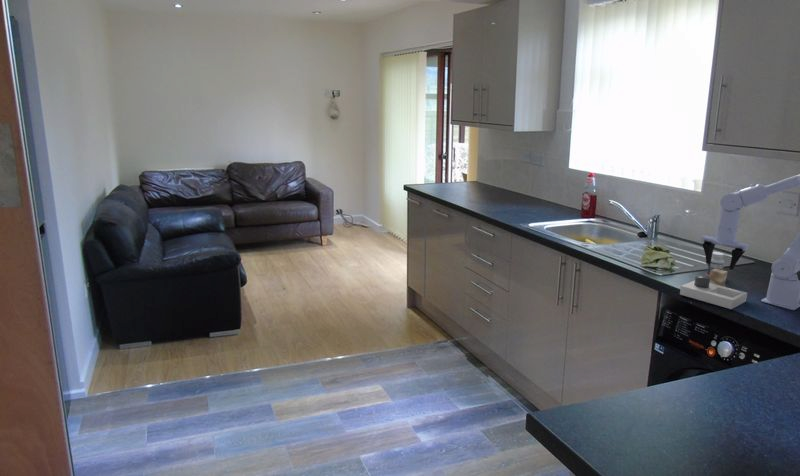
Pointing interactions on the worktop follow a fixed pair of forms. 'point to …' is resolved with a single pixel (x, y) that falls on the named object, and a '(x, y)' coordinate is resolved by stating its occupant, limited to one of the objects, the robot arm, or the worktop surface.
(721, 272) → the plug block
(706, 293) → the white tray
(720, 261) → the pill bottle
